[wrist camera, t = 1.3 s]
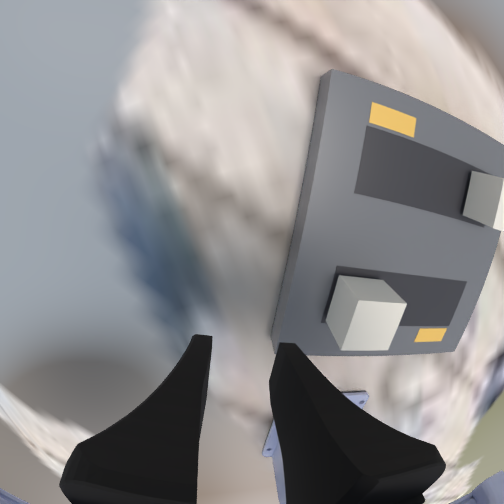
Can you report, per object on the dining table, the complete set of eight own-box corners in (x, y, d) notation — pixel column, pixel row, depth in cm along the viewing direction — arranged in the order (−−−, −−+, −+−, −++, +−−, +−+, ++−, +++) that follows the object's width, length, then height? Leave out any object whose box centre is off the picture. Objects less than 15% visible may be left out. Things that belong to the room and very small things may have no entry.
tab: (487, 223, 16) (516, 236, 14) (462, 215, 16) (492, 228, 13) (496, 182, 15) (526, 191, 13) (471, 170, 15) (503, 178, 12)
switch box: (442, 339, 22) (454, 351, 21) (270, 335, 21) (274, 354, 19) (499, 150, 17) (516, 153, 15) (321, 76, 15) (332, 68, 13)
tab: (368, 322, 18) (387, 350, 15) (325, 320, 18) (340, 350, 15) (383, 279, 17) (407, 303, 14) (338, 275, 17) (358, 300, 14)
